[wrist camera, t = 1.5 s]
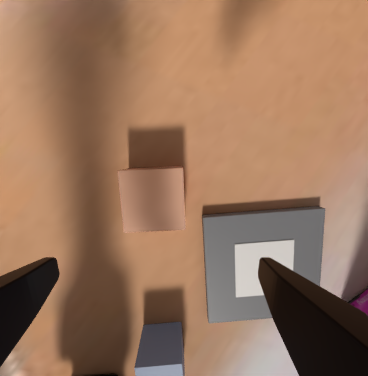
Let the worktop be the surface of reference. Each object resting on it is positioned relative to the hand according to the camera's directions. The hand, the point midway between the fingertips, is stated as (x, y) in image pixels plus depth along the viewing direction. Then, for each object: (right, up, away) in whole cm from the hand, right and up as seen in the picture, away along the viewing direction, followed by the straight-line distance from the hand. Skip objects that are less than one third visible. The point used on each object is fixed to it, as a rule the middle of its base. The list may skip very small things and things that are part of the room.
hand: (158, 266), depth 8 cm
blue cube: (-2, -17, +16) cm, 23 cm away
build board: (+11, -6, +15) cm, 19 cm away
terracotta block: (-2, +3, +13) cm, 13 cm away
